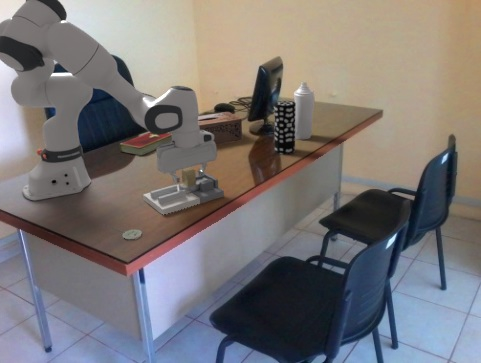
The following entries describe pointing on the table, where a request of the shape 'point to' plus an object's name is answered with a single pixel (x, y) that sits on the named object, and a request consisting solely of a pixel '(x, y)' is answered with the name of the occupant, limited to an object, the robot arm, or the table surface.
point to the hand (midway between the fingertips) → (189, 179)
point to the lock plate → (183, 196)
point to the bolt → (190, 180)
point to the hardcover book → (145, 143)
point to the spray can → (303, 111)
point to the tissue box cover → (222, 127)
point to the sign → (130, 233)
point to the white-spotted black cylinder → (285, 127)
